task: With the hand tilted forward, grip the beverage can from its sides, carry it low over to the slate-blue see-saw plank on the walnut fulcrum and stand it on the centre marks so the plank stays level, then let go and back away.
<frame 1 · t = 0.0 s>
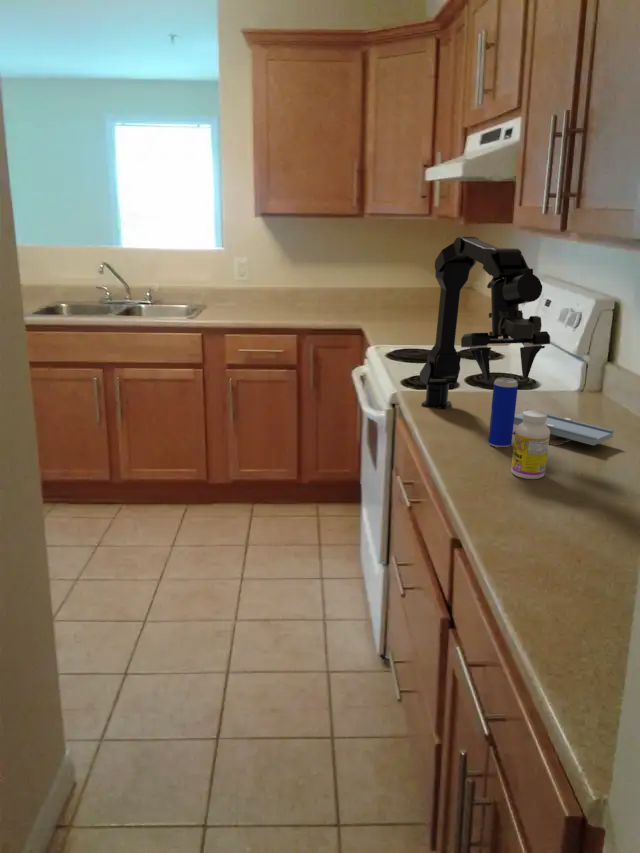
hand: (506, 379, 163), 15 cm above the worktop, tool pointing down, fingers open, 9 cm apart
fulcrum: (557, 437, 175), on the worktop
beverage can: (499, 445, 169), on the worktop
beam: (558, 425, 174), point 3 cm above the worktop, hinge at 0.0°
supplement bottle: (527, 475, 151), on the worktop
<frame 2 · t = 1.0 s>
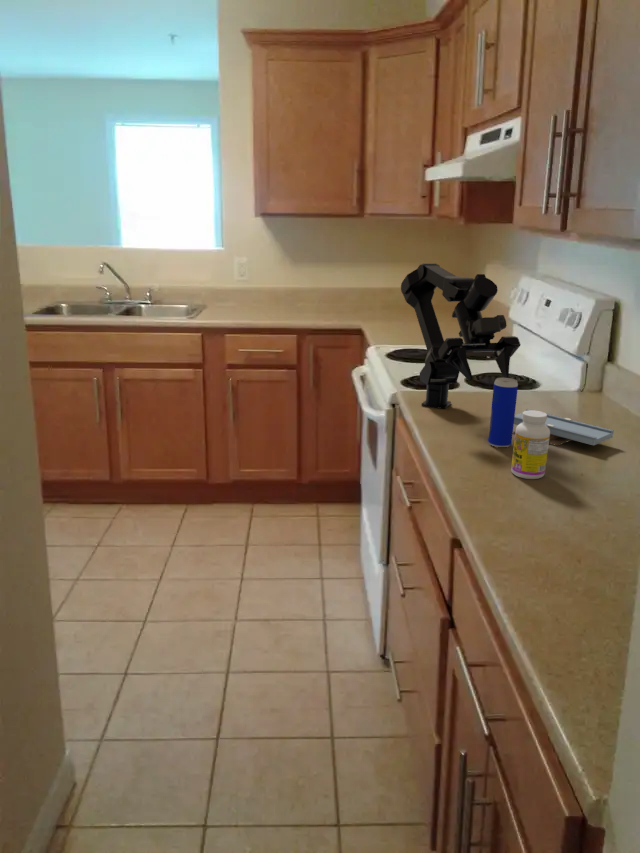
hand: (489, 379, 171), 13 cm above the worktop, tool tilted 45°, fingers open, 9 cm apart
nothing on the worktop moved.
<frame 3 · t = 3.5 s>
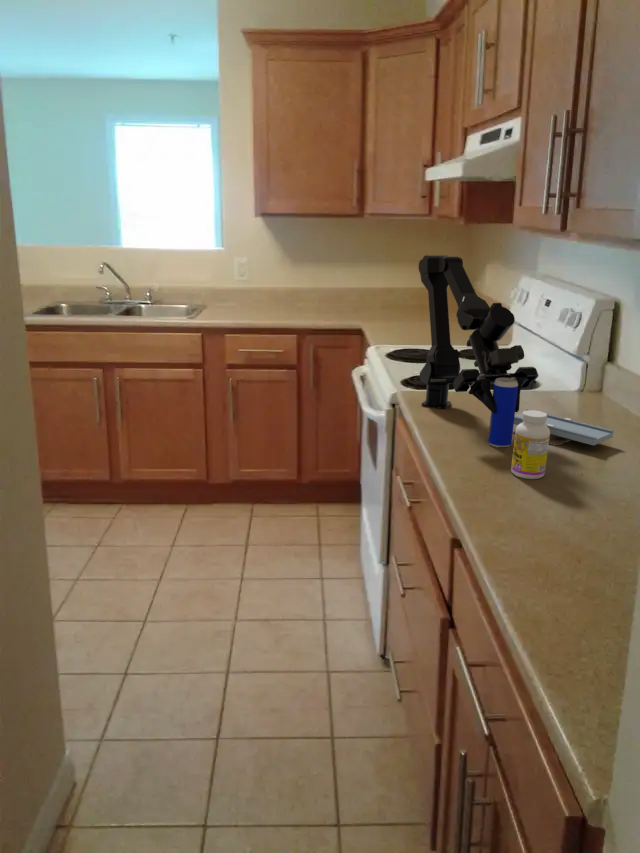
hand: (506, 412, 165), 8 cm above the worktop, tool tilted 45°, fingers closed on beverage can, 5 cm apart
beverage can: (499, 445, 169), on the worktop, touching gripper
everything else where it was.
when the fingers open (12 cm above the worktop, at t = 7.4 s): beverage can stays where it is, resting on beam.
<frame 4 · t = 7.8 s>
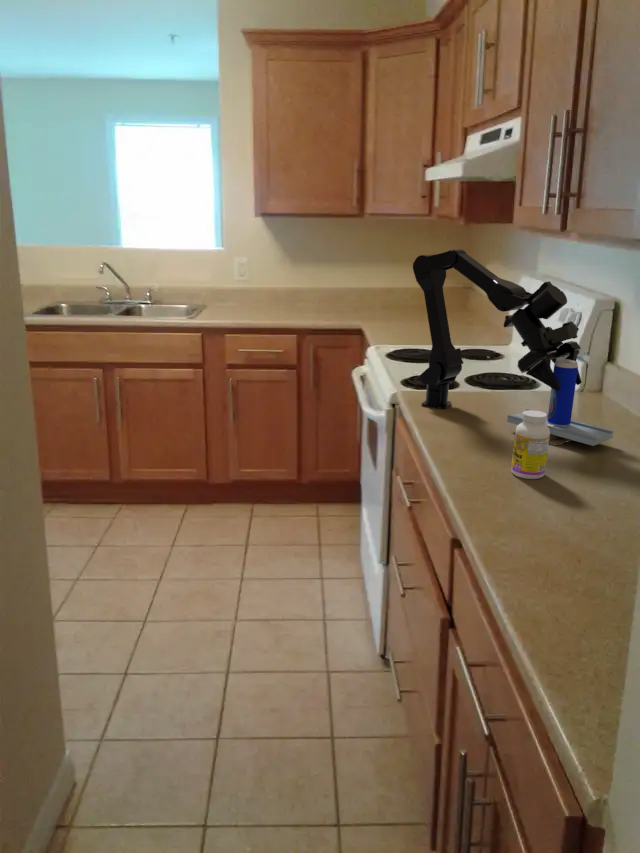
hand: (569, 386, 170), 13 cm above the worktop, tool tilted 45°, fingers open, 9 cm apart
beverage can: (558, 425, 174), point 3 cm above the worktop, touching beam
beam: (558, 425, 174), point 3 cm above the worktop, hinge at 0.5°, touching beverage can
everything else where it was.
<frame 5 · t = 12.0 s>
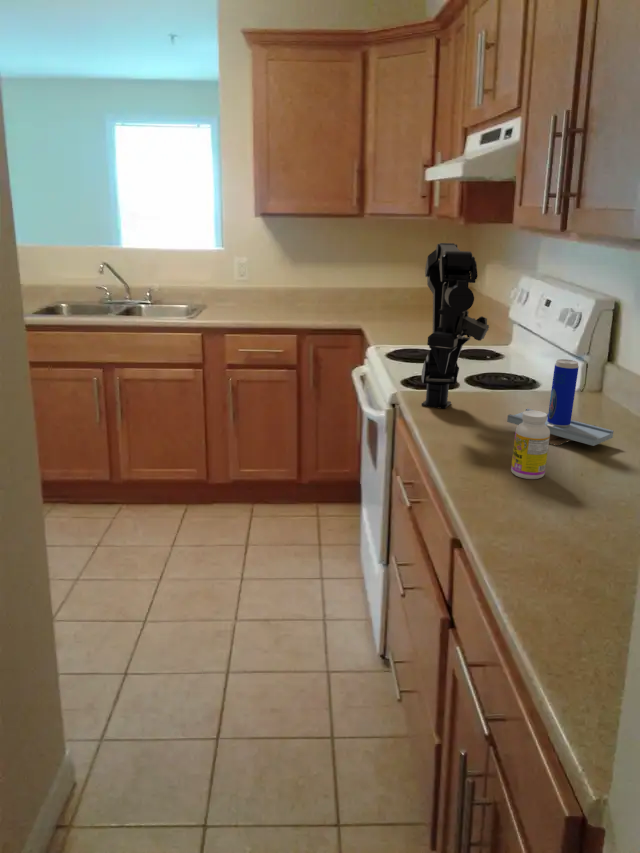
hand: (448, 370, 181), 13 cm above the worktop, tool pointing down, fingers open, 9 cm apart
nothing on the worktop moved.
at the end: beverage can 0.1 cm from the beam (horizontally); beverage can tilted 0°; beam at +0° (first picture: +0°) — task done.
